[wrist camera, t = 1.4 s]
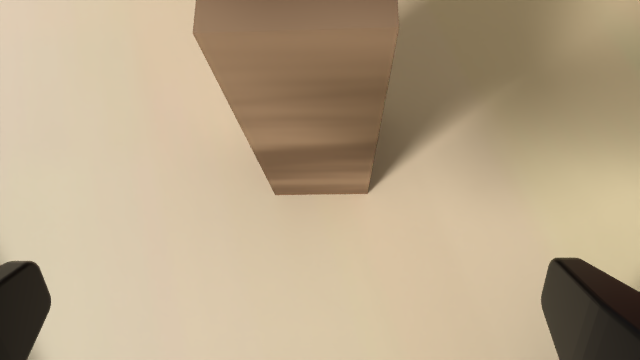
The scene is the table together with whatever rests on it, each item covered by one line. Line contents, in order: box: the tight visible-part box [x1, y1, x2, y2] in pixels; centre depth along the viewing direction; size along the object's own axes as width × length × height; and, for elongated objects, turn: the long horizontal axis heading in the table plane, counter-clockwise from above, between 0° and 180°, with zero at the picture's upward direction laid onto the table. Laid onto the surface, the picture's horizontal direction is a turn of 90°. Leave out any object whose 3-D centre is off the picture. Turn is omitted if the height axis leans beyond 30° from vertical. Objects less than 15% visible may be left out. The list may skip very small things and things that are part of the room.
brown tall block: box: [193, 0, 399, 195], centre depth 17 cm, size 4×4×13 cm
